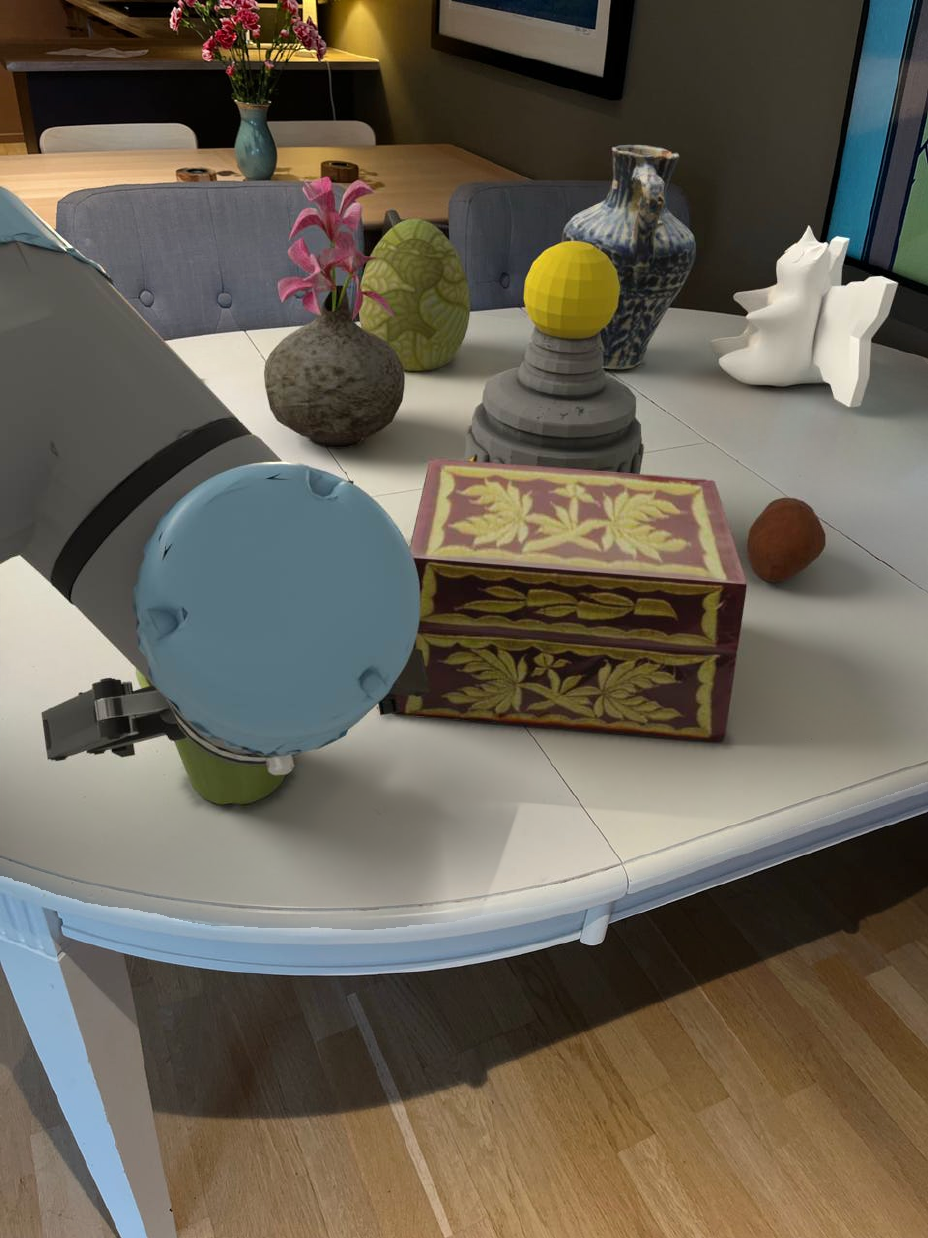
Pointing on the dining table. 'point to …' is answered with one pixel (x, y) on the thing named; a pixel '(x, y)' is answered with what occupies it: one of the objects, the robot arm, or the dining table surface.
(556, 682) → the decorative box
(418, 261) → the decorative sculpture
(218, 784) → the plant pot
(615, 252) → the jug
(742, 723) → the dining table surface
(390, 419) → the vase
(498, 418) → the decorative lamp
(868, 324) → the cat figurine
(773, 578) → the potato
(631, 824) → the dining table surface
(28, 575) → the dining table surface
